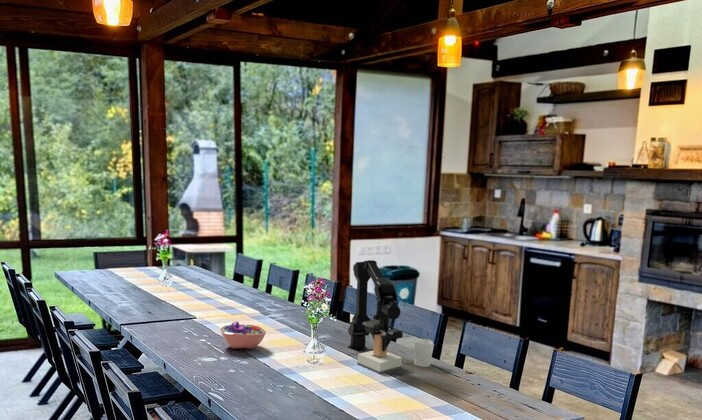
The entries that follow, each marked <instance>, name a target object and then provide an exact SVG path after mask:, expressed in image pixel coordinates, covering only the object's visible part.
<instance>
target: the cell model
mask: <svg viewBox="0 0 702 420" xmlns="http://www.w3.org/2000/svg"><path fill="white" fill-rule="evenodd" d="M219 331H220V332H221V335H222V339H223V341H224V342H225V343H226V344H227V345H228V346H229V347H230V348H232V349H235V350H236V349H247V350H249V349H254V348H256V347H257V346H258V345H260V344H261V343H262V341H263V340H264V338H265V336H266V333H267V331H266V330H265V329H264V328H263V327H261V326H258V325H254V324H240V323H239V321H234V322H232V323H231V324H228V325H227V324H226V325H224V326H221V328H220V330H219Z"/></svg>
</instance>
